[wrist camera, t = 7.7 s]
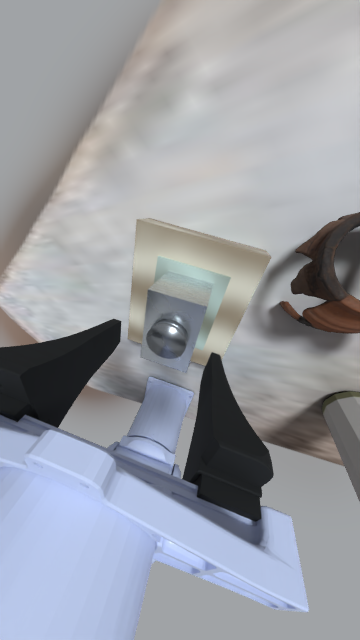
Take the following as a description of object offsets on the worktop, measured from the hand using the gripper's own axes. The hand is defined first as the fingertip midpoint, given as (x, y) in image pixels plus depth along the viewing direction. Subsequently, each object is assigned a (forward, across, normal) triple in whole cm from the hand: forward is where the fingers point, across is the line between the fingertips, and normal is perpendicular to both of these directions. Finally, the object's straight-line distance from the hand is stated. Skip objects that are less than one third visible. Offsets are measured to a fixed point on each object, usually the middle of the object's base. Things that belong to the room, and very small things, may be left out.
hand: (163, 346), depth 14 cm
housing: (+6, 0, 0) cm, 6 cm away
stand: (+10, 0, 0) cm, 10 cm away
